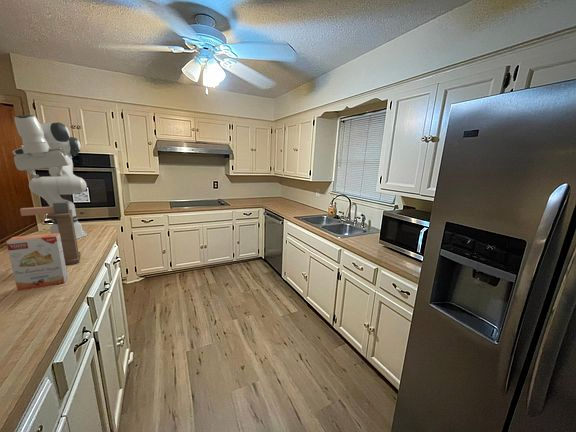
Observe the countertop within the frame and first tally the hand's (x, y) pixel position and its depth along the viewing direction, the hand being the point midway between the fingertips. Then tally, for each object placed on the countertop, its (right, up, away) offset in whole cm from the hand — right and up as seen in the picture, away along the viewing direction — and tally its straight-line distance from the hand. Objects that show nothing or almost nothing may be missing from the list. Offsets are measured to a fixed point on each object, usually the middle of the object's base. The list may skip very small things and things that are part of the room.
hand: (48, 176), depth 125 cm
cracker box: (+23, -49, -26) cm, 60 cm away
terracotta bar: (+11, -19, -11) cm, 24 cm away
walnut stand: (+13, -43, -3) cm, 45 cm away
